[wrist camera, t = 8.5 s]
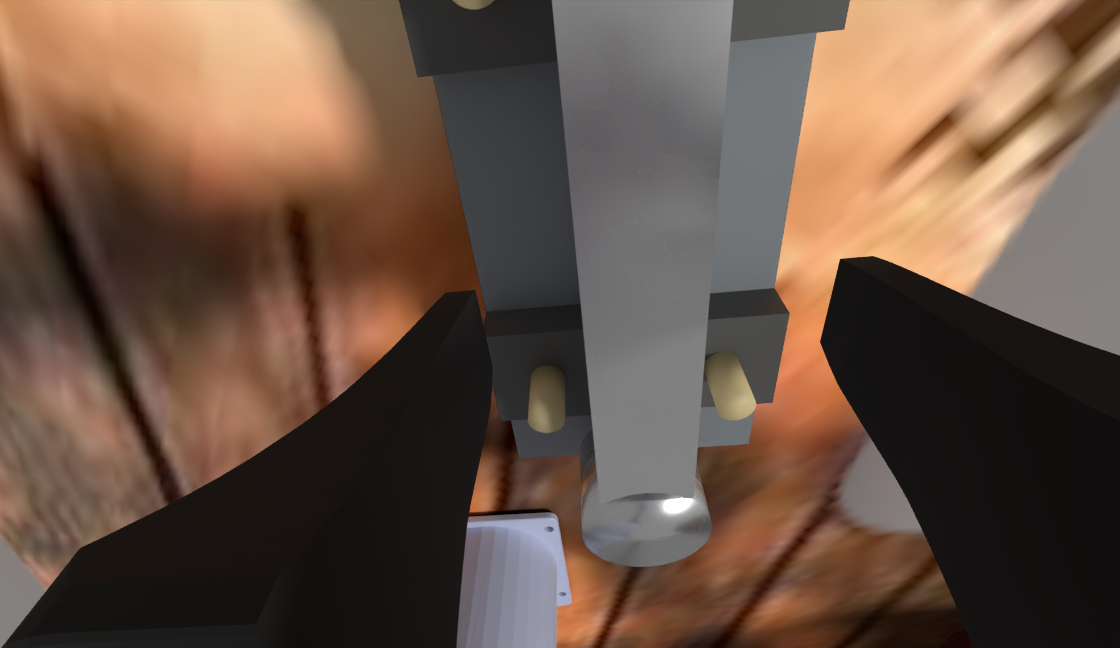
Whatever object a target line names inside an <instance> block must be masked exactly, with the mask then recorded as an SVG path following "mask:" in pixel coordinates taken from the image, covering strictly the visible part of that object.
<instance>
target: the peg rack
mask: <svg viewBox="0 0 1120 648" xmlns="http://www.w3.org/2000/svg"><path fill="white" fill-rule="evenodd" d="M399 2H400V6H401V10H402V14H403V18H404V22H405V26H406V31H407V35H408V39H409V43H410V47H411V51H412V55H413V59H414V64H415V68H416V72H417V76H418V77H424V76H433V78H434V83H435V87H436V92H437V96H438V101H439V105H440V109H441V114H442V118H443V123H444V127H445V131H446V136H447V140H448V145H449V149H450V153H451V158H452V162H453V167H454V171H455V176H456V180H457V184H458V189H459V193H460V198H461V202H462V206H463V211H464V215H465V220H466V224H467V229H468V233H469V237H470V242H471V246H472V251H473V255H474V259H475V264H476V268H477V273H478V277H479V281H480V286H481V290H482V295H483V299H484V304H485V308H486V316H485V321H484V330H485V335H486V339H487V343H488V348H489V352H490V356H491V360H492V365H493V376H492V385H493V389H494V393H495V397H496V402H497V406H498V410H499V414H500V418H501V421H511V423H512V427H513V432H514V436H515V440H516V445H517V449H518V454H519V458H535V457H550V456H566V455H580V445H581V443H582V440H583V439H584V437H585V436H586V434H587V433H588V432H589V431H590V430H591V429H592V417H591V407H590V396H589V386H588V375H587V365H586V354H585V344H584V333H583V323H582V312H581V302H580V291H579V281H578V270H577V259H576V249H575V238H574V228H573V217H572V207H571V196H570V186H569V175H568V165H567V154H566V144H565V133H564V123H563V112H562V102H561V91H560V81H559V70H558V60H557V49H556V39H555V28H554V17H553V7H552V0H399ZM849 2H850V0H733V13H732V25H731V38H730V50H729V63H728V75H727V87H726V100H725V112H724V125H723V137H722V150H721V162H720V175H719V187H718V200H717V212H716V225H715V237H714V249H713V262H712V274H711V287H710V299H709V312H708V324H707V337H706V349H705V362H704V374H703V387H702V399H701V412H700V424H699V436H698V447H708V446H724V445H739V444H749V438H750V432H751V426H752V420H753V414H754V410H755V408H756V404H761V403H772V402H773V397H774V392H775V387H776V381H777V376H778V371H779V366H780V361H781V355H782V350H783V345H784V340H785V335H786V329H787V324H788V319H789V314H790V313H789V312H788V310H787V308H786V307H785V305H784V303H783V302H782V300H781V298H780V297H779V295H778V293H777V292H776V290H775V288H774V287H775V281H776V275H777V269H778V263H779V257H780V251H781V245H782V239H783V233H784V227H785V221H786V214H787V208H788V202H789V196H790V190H791V184H792V178H793V172H794V166H795V160H796V154H797V148H798V142H799V136H800V130H801V124H802V118H803V112H804V106H805V100H806V94H807V87H808V81H809V75H810V69H811V63H812V57H813V51H814V45H815V39H816V33H817V32H825V31H834V30H843V29H844V28H845V23H846V17H847V12H848V7H849Z"/></svg>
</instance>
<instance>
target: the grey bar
mask: <svg viewBox="0 0 1120 648" xmlns="http://www.w3.org/2000/svg"><path fill="white" fill-rule="evenodd" d="M552 7H553V17H554V28H555V39H556V49H557V60H558V70H559V81H560V91H561V102H562V112H563V123H564V133H565V144H566V154H567V165H568V175H569V186H570V196H571V207H572V217H573V228H574V238H575V249H576V259H577V270H578V281H579V291H580V302H581V312H582V323H583V333H584V344H585V354H586V365H587V375H588V386H589V396H590V407H591V417H592V429H591V430H590V431H589V432H588V433H587V434H586V436H585V437H584V439H583V440H582V443H581V445H580V479H581V510H582V537H583V541H584V543H585V545H586V546H587V547H588V549H589V550H590V551H591V552H593V553H594V554H595V555H597V556H598V557H600V558H602V559H604V560H607V561H609V562H612V563H616V564H620V565H625V566H636V567H648V566H657V565H663V564H668V563H672V562H675V561H678V560H681V559H683V558H685V557H687V556H689V555H691V554H693V553H694V552H696V551H697V550H698V549H700V548H701V547H702V546H703V545H704V544H705V543H706V541H707V540H708V539H709V536H710V534H711V531H712V523H711V518H710V514H709V510H708V507H707V503H706V499H705V495H704V491H703V487H702V483H701V479H700V475H699V471H698V467H697V463H696V461H697V449H698V436H699V424H700V412H701V399H702V387H703V374H704V362H705V349H706V337H707V324H708V312H709V299H710V287H711V274H712V262H713V249H714V237H715V225H716V212H717V200H718V187H719V175H720V162H721V150H722V137H723V125H724V112H725V100H726V87H727V75H728V63H729V50H730V38H731V25H732V13H733V0H552Z"/></svg>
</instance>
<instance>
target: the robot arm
mask: <svg viewBox="0 0 1120 648" xmlns="http://www.w3.org/2000/svg"><path fill="white" fill-rule="evenodd" d="M820 343H821V345H822V348H823V350H824V353H825V355H826V358H827V361H828V363H829V366H830V368H831V370H832V372H833V375H834V377H835V379H836V381H837V384H838V385H839V387H840V389H841V390H842V392H843V394H844V395H845V397H846V399H847V400H848V402H849V404H850V405H851V407H852V409H853V410H854V412H855V414H856V415H857V417H858V418H859V420H860V422H861V423H862V425H863V427H864V428H865V430H866V431H867V433H868V435H869V436H870V438H871V439H872V441H873V442H874V444H875V446H876V447H877V449H878V450H879V452H880V454H881V455H882V457H883V458H884V460H885V462H886V463H887V465H888V467H889V468H890V470H891V471H892V473H893V474H894V476H895V478H896V480H897V481H898V483H899V485H900V487H901V488H902V490H903V492H904V494H905V496H906V497H907V499H908V501H909V503H910V505H911V508H912V509H913V512H914V513H915V516H916V518H917V520H918V522H919V524H920V526H921V528H922V531H923V533H924V535H925V537H926V539H927V541H928V543H929V545H930V547H931V549H932V552H933V554H934V556H935V559H936V561H937V563H938V565H939V568H940V570H941V572H942V574H943V577H944V579H945V581H946V584H947V586H948V588H949V590H950V593H951V595H952V597H953V599H954V602H955V604H956V607H957V609H958V612H959V614H960V617H961V619H962V622H963V624H964V627H965V629H966V632H967V634H968V637H969V639H970V642H971V644H972V647H973V648H1120V356H1119V355H1116V354H1113V353H1110V352H1107V351H1104V350H1101V349H1098V348H1095V347H1092V346H1089V345H1087V344H1084V343H1081V342H1078V341H1075V340H1073V339H1070V338H1067V337H1064V336H1062V335H1059V334H1057V333H1054V332H1052V331H1049V330H1046V329H1044V328H1041V327H1039V326H1036V325H1034V324H1031V323H1029V322H1026V321H1024V320H1021V319H1019V318H1016V317H1014V316H1012V315H1009V314H1007V313H1004V312H1002V311H1000V310H997V309H995V308H993V307H990V306H988V305H986V304H983V303H981V302H979V301H977V300H974V299H972V298H970V297H968V296H966V295H963V294H961V293H959V292H957V291H954V290H952V289H950V288H948V287H946V286H943V285H941V284H939V283H937V282H934V281H932V280H930V279H928V278H926V277H923V276H921V275H919V274H917V273H914V272H912V271H910V270H908V269H905V268H903V267H901V266H898V265H896V264H893V263H891V262H888V261H886V260H883V259H880V258H877V257H874V256H869V257H857V258H846V259H840V262H839V266H838V270H837V274H836V278H835V283H834V287H833V291H832V295H831V299H830V303H829V307H828V312H827V316H826V320H825V324H824V328H823V332H822V336H821V341H820ZM492 376H493V365H492V360H491V356H490V352H489V348H488V343H487V339H486V335H485V330H484V326H483V322H482V318H481V313H480V309H479V305H478V300H477V296H476V292H475V290H472V291H461V292H449V293H445V294H444V295H443V296H442V297H441V298H440V299H439V300H438V301H437V302H436V303H435V304H434V305H433V306H432V307H431V308H430V309H429V310H428V311H427V312H426V313H425V315H424V316H423V317H422V318H421V319H420V320H419V321H418V322H417V323H416V324H415V325H414V326H413V327H412V328H411V329H410V330H409V331H408V332H407V333H406V334H405V335H404V336H403V338H402V339H401V340H400V341H399V342H398V343H397V344H396V345H395V346H394V347H393V348H392V349H391V350H390V351H389V352H388V353H387V354H385V355H384V356H383V357H382V358H381V359H380V360H379V361H378V362H377V363H376V364H375V365H374V366H372V367H371V368H370V369H369V370H368V371H367V372H366V373H365V374H364V375H363V376H362V377H361V378H360V379H358V380H357V381H356V382H355V383H354V384H353V385H352V386H350V387H349V388H348V389H347V390H346V391H345V392H343V393H342V394H341V395H340V396H338V397H337V398H336V399H335V400H333V401H332V402H331V403H330V404H328V405H327V406H326V407H324V408H323V409H322V410H320V411H319V412H318V413H317V414H315V415H314V416H313V417H311V418H310V419H309V420H307V421H306V422H304V423H303V424H302V425H300V426H299V427H297V428H296V429H294V430H293V431H291V432H290V433H288V434H287V435H285V436H284V437H282V438H281V439H279V440H278V441H276V442H275V443H273V444H272V445H270V446H269V447H267V448H266V449H264V450H263V451H261V452H260V453H258V454H257V455H255V456H254V457H252V458H250V459H249V460H247V461H246V462H244V463H242V464H241V465H239V466H237V467H236V468H234V469H232V470H230V471H229V472H227V473H225V474H224V475H222V476H220V477H219V478H217V479H215V480H213V481H211V482H210V483H208V484H206V485H204V486H203V487H201V488H199V489H197V490H195V491H194V492H192V493H190V494H188V495H186V496H184V497H183V498H181V499H179V500H177V501H175V502H173V503H171V504H169V505H168V506H166V507H164V508H162V509H159V510H157V511H155V512H153V513H151V514H149V515H147V516H145V517H143V518H141V519H139V520H137V521H135V522H133V523H131V524H129V525H127V526H125V527H123V528H121V529H119V530H117V531H115V532H113V533H111V534H109V535H107V536H105V537H103V538H101V539H99V540H96V541H94V542H92V543H90V544H88V545H86V546H84V547H81V548H80V549H79V550H78V551H77V553H76V554H75V555H74V557H73V558H72V559H71V560H70V562H69V563H68V564H67V565H66V567H65V568H64V569H63V570H62V572H61V573H60V574H59V576H58V577H57V578H56V579H55V581H54V582H53V583H52V584H51V586H50V587H49V588H48V589H47V591H46V592H45V593H44V595H43V596H42V597H41V598H40V600H39V601H38V602H37V603H36V605H35V606H34V607H33V609H32V610H31V611H30V612H29V614H28V615H27V616H26V617H25V619H24V620H23V621H22V622H21V624H20V625H19V626H18V627H17V629H16V630H15V631H14V633H13V634H12V635H11V636H10V638H9V639H8V640H7V642H6V643H5V644H4V645H3V646H2V648H556V632H557V606H566V605H569V604H570V603H571V602H572V596H571V590H570V584H569V579H568V573H567V568H566V562H565V557H564V551H563V545H562V540H561V534H560V529H559V523H558V518H557V516H556V515H555V514H554V513H551V512H544V513H526V514H508V515H491V516H473V517H469V511H470V505H471V500H472V495H473V490H474V485H475V480H476V476H477V471H478V466H479V461H480V457H481V452H482V447H483V442H484V437H485V432H486V427H487V422H488V417H489V412H490V405H491V392H492Z"/></svg>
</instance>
